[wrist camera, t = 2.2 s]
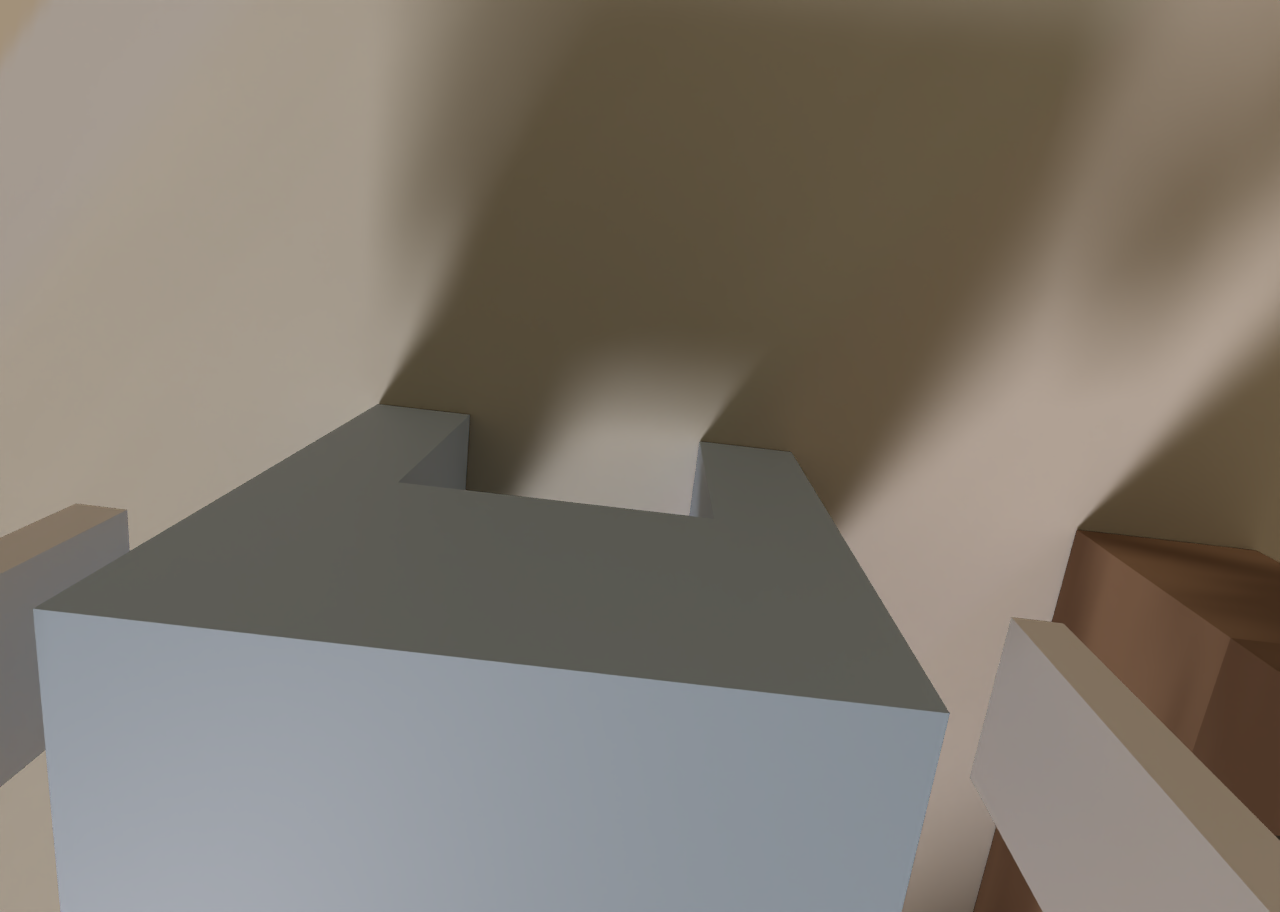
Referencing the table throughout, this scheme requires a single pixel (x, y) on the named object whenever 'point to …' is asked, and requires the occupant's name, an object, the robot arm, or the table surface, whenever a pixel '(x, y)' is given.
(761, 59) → the table surface
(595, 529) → the grey slotted block
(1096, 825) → the robot arm
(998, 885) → the walnut notched block
